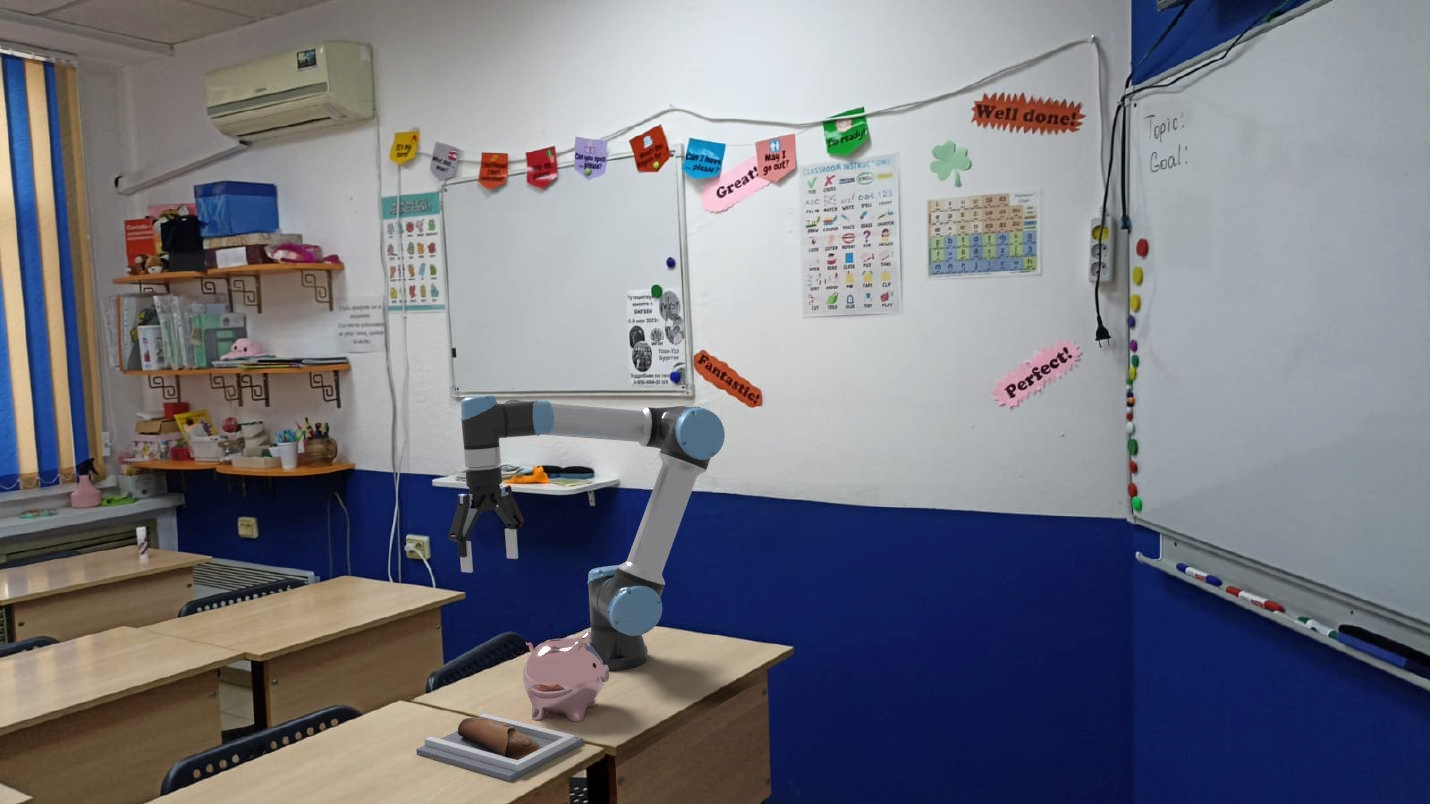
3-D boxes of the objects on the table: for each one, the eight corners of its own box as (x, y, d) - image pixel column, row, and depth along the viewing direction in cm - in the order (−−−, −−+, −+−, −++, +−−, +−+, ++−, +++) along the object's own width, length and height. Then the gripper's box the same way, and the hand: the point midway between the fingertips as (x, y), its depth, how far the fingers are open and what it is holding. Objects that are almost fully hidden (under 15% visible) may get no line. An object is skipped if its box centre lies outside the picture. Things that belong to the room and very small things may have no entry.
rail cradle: (492, 720, 201) (491, 710, 201) (583, 743, 187) (582, 732, 187) (416, 754, 185) (415, 742, 185) (509, 781, 171) (509, 769, 171)
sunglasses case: (545, 746, 182) (528, 721, 179) (519, 776, 178) (500, 751, 175) (495, 723, 195) (478, 700, 192) (469, 750, 191) (451, 727, 188)
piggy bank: (597, 726, 195) (593, 647, 194) (513, 723, 199) (508, 646, 198) (620, 699, 210) (616, 626, 209) (541, 697, 214) (537, 625, 213)
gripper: (511, 460, 224) (517, 551, 225) (426, 475, 202) (434, 576, 204) (535, 460, 220) (542, 553, 221) (451, 475, 198) (459, 579, 200)
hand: (490, 565), depth 212 cm, fingers open, 13 cm apart
